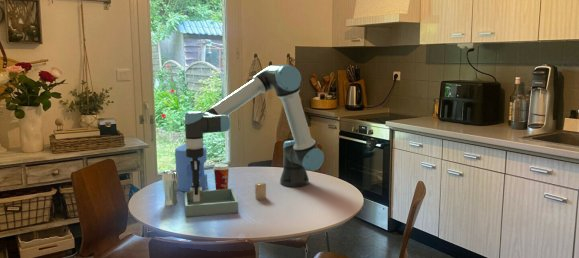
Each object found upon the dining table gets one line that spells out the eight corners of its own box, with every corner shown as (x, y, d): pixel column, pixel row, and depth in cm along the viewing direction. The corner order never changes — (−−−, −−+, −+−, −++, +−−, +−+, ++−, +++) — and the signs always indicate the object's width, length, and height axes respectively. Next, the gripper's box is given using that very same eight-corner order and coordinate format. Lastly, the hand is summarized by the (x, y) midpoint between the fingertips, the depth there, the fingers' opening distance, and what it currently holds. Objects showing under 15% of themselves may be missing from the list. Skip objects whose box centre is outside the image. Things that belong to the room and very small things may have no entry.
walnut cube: (190, 198, 198) (190, 188, 197) (202, 198, 199) (201, 187, 198) (190, 202, 193) (190, 191, 192) (202, 201, 194) (202, 190, 194)
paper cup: (226, 195, 215) (226, 167, 213) (211, 194, 217) (210, 166, 214) (232, 191, 223) (231, 163, 220) (217, 190, 224) (216, 163, 222)
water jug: (170, 190, 223) (167, 135, 219) (188, 182, 238) (186, 131, 233) (196, 194, 218) (194, 137, 213) (213, 185, 232) (211, 132, 228)
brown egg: (264, 196, 214) (264, 182, 213) (266, 199, 209) (266, 185, 208) (254, 197, 213) (254, 183, 212) (256, 200, 208) (256, 185, 207)
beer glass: (182, 202, 205) (180, 170, 203) (173, 207, 199) (172, 174, 197) (169, 200, 208) (167, 169, 205) (160, 205, 201) (158, 173, 199)
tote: (232, 198, 210) (232, 188, 210) (238, 212, 191) (238, 201, 191) (184, 202, 205) (184, 192, 204) (185, 217, 186) (185, 205, 185)
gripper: (185, 144, 200) (187, 194, 204) (186, 152, 183) (187, 206, 187) (202, 143, 202) (203, 192, 206) (204, 151, 185) (206, 205, 188)
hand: (196, 199), depth 196 cm, fingers closed on walnut cube, 5 cm apart
